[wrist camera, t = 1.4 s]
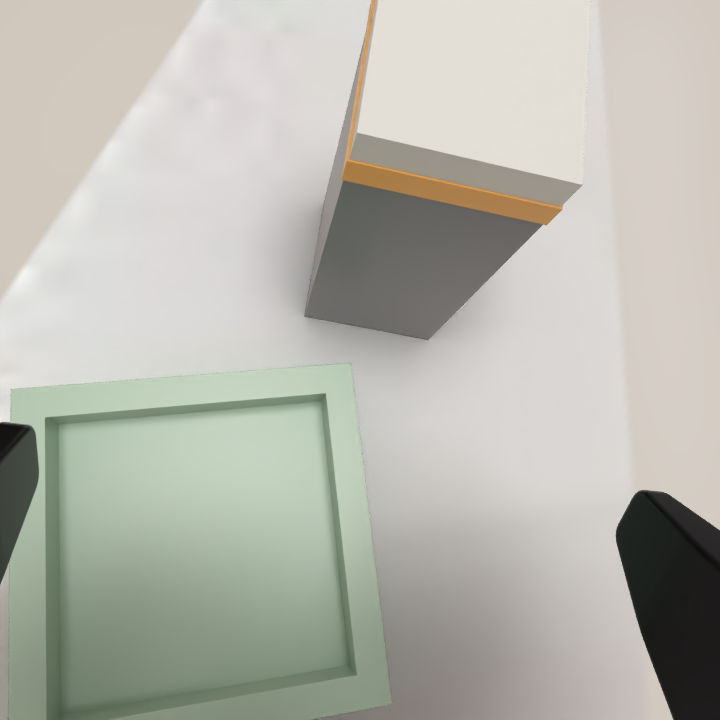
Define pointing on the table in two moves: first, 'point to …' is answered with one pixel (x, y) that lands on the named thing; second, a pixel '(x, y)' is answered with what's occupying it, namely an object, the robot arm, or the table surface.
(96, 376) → the table surface
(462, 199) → the grey tall block
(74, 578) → the tray
